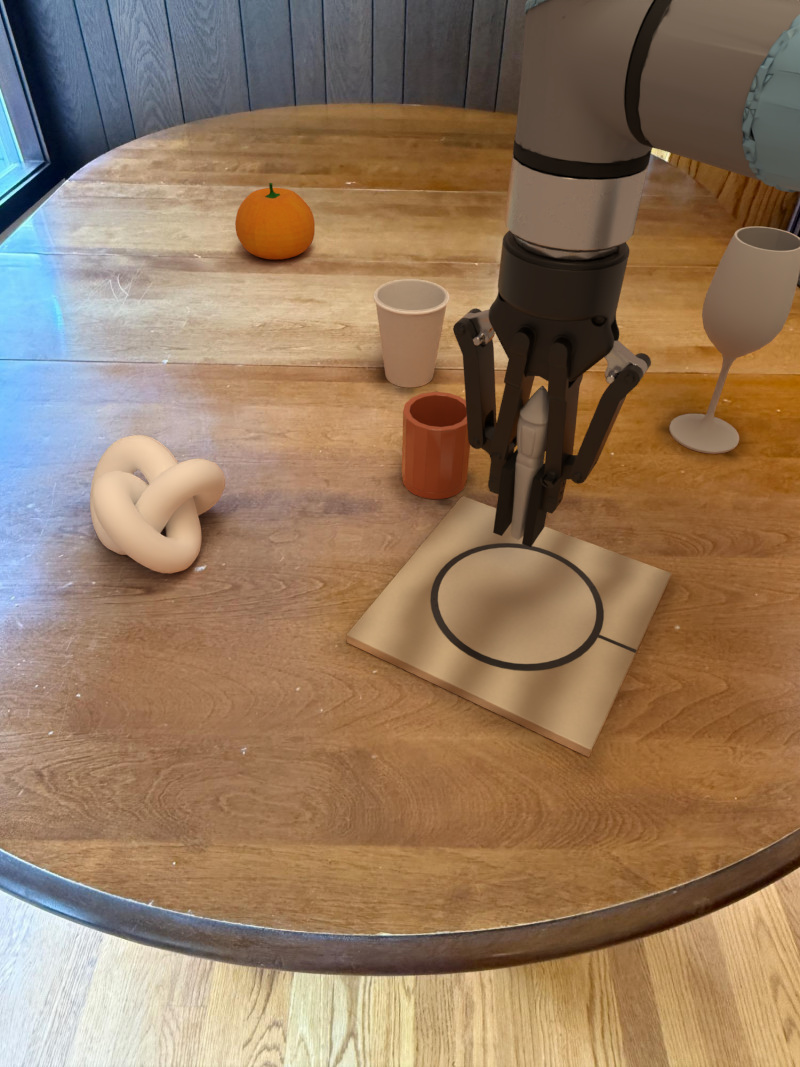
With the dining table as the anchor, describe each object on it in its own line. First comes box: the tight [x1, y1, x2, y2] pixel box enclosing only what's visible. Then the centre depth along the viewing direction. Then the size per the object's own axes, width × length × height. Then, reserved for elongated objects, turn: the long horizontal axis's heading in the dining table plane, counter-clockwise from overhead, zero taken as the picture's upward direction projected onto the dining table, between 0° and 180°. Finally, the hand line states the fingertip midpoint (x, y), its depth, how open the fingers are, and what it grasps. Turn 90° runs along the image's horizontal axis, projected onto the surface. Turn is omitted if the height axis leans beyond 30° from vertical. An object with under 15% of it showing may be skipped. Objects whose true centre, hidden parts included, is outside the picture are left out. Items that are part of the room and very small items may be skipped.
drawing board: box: [346, 495, 672, 758], centre depth 63 cm, size 20×20×1 cm
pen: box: [511, 385, 550, 540], centre depth 57 cm, size 2×3×14 cm
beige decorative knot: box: [89, 434, 226, 574], centre depth 66 cm, size 11×12×9 cm
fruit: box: [234, 182, 316, 261], centre depth 114 cm, size 12×12×10 cm
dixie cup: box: [372, 278, 451, 388], centre depth 88 cm, size 8×8×10 cm
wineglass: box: [668, 226, 800, 455], centre depth 76 cm, size 8×8×21 cm
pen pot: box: [401, 391, 471, 500], centre depth 74 cm, size 6×6×8 cm
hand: (518, 529), depth 62 cm, fingers closed on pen, 2 cm apart
